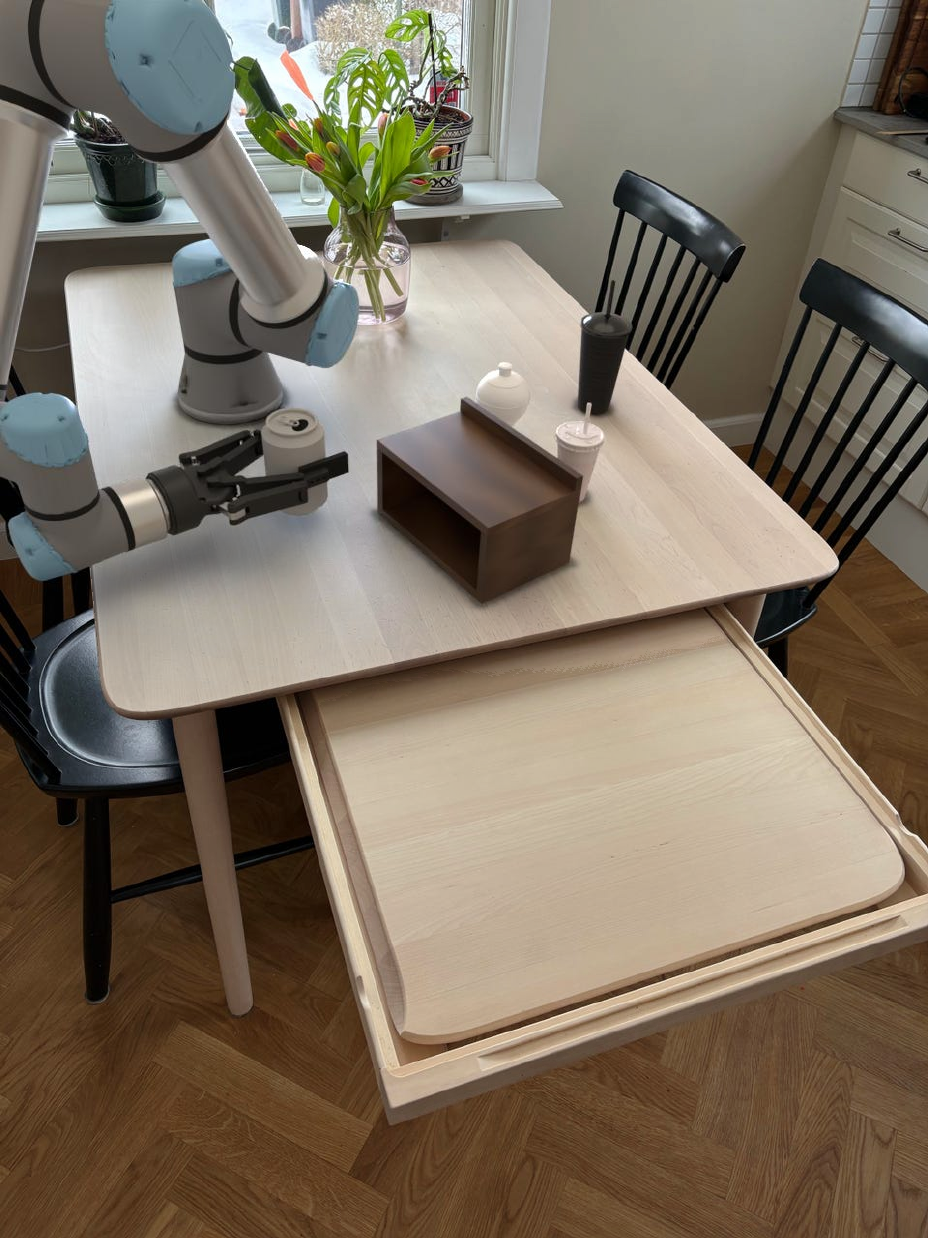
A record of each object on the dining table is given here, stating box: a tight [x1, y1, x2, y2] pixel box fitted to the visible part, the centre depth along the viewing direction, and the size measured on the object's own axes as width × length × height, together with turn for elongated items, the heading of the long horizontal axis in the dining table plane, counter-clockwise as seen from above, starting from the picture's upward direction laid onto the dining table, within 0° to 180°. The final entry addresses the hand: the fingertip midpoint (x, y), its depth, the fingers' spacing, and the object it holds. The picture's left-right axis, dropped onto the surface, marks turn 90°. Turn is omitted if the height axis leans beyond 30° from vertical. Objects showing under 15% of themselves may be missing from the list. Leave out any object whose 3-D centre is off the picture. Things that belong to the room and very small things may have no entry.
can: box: [261, 407, 329, 517], centre depth 118 cm, size 8×8×12 cm
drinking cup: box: [577, 279, 633, 416], centre depth 143 cm, size 8×8×20 cm
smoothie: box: [554, 403, 605, 503], centre depth 126 cm, size 6×6×14 cm
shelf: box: [376, 396, 583, 604], centre depth 118 cm, size 14×22×13 cm, turn 38°
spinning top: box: [475, 361, 531, 428], centre depth 137 cm, size 8×8×12 cm
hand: (328, 446), depth 120 cm, fingers closed on can, 7 cm apart
